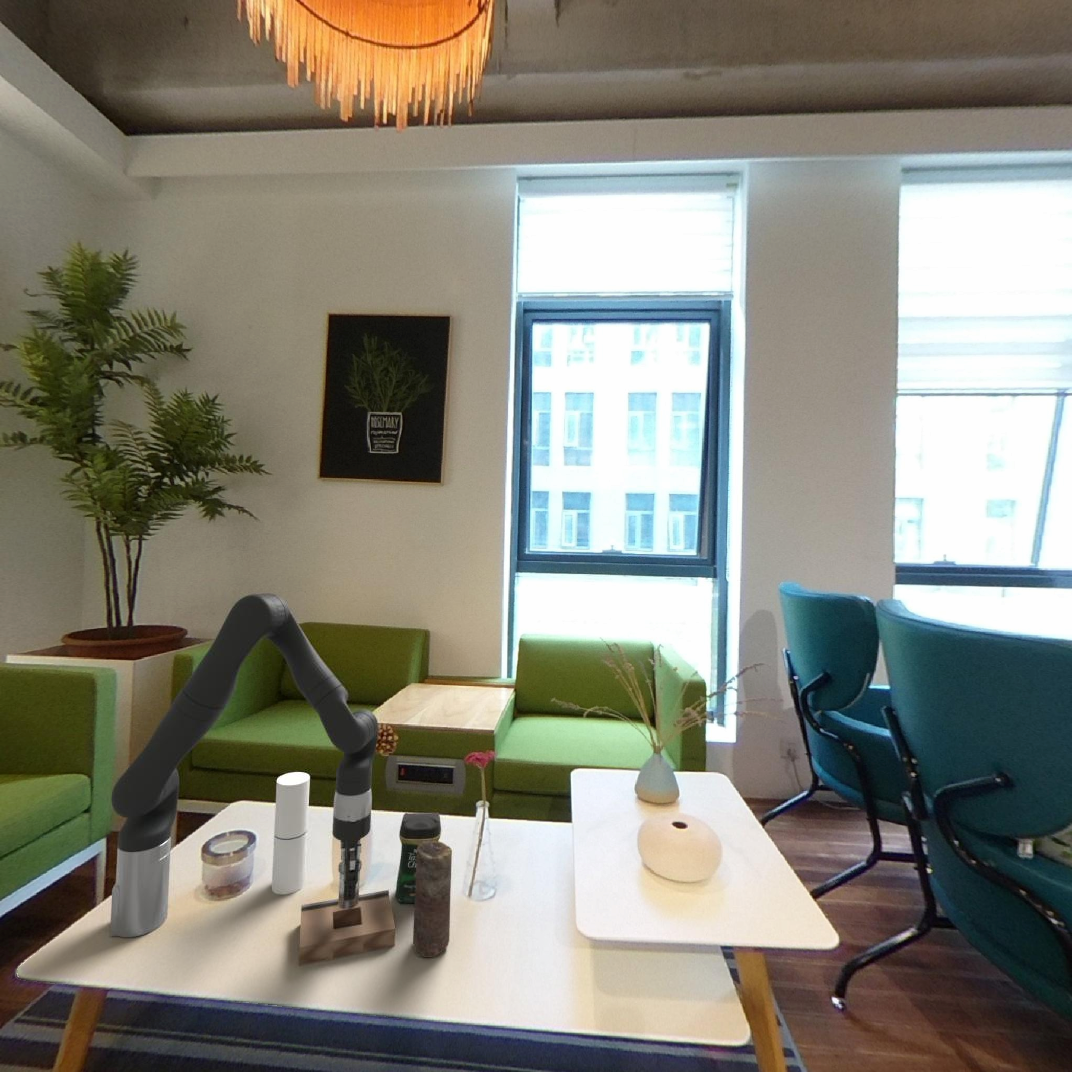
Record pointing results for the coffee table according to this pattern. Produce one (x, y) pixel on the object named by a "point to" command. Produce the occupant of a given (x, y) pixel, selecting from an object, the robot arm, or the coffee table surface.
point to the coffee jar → (414, 849)
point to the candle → (432, 899)
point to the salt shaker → (341, 901)
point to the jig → (330, 943)
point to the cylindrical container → (290, 832)
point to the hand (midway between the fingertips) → (348, 892)
